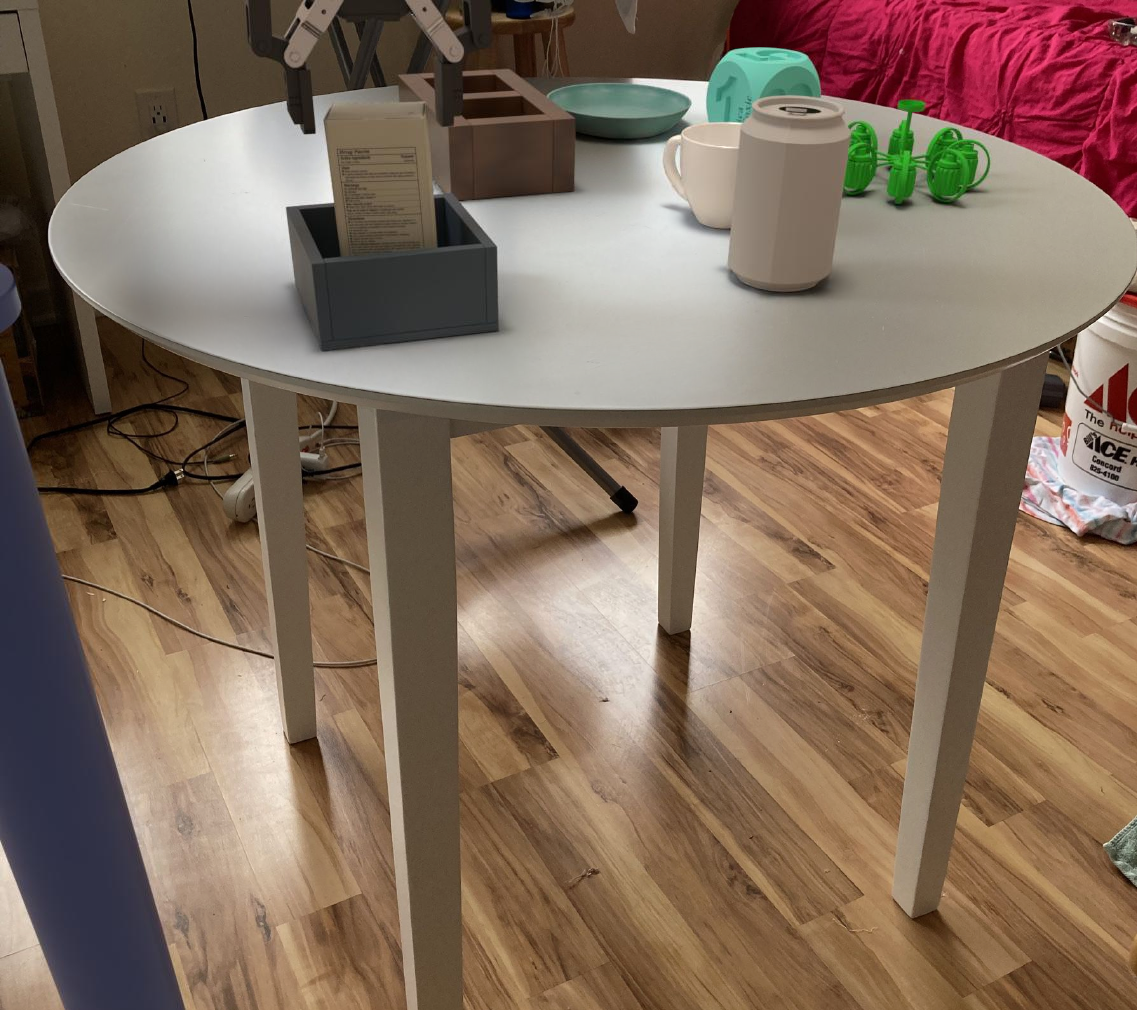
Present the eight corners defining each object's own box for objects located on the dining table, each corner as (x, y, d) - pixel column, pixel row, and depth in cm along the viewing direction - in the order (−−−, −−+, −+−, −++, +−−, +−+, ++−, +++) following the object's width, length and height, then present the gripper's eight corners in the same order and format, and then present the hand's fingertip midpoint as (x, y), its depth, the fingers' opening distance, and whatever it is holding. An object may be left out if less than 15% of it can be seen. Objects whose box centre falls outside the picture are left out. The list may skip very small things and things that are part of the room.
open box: (321, 351, 74) (311, 264, 71) (295, 286, 83) (285, 206, 80) (498, 330, 77) (497, 246, 74) (455, 270, 86) (452, 192, 83)
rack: (451, 201, 100) (448, 126, 96) (401, 140, 115) (397, 74, 111) (574, 191, 102) (575, 118, 99) (510, 133, 118) (509, 68, 114)
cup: (736, 242, 92) (745, 153, 88) (634, 215, 97) (638, 129, 93) (788, 219, 97) (798, 133, 93) (688, 194, 102) (694, 112, 98)
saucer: (581, 150, 113) (582, 121, 111) (524, 115, 124) (524, 88, 122) (716, 137, 118) (718, 109, 116) (649, 104, 129) (650, 78, 127)
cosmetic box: (441, 287, 82) (432, 99, 75) (439, 310, 78) (430, 116, 71) (347, 287, 81) (329, 99, 74) (341, 311, 78) (322, 116, 71)
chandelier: (896, 153, 114) (910, 76, 110) (1020, 194, 104) (1040, 111, 100) (778, 175, 107) (787, 94, 103) (898, 221, 97) (914, 133, 93)
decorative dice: (701, 138, 117) (708, 51, 113) (766, 129, 121) (776, 44, 116) (748, 158, 112) (758, 67, 107) (815, 148, 115) (827, 59, 110)
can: (835, 266, 88) (861, 95, 81) (821, 301, 82) (848, 121, 75) (736, 254, 90) (753, 86, 83) (716, 288, 84) (732, 110, 77)
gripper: (468, -188, 68) (473, 109, 78) (215, -194, 65) (253, 119, 74) (503, -182, 63) (504, 137, 72) (227, -188, 59) (266, 150, 68)
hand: (377, 127), depth 73 cm, fingers open, 8 cm apart
